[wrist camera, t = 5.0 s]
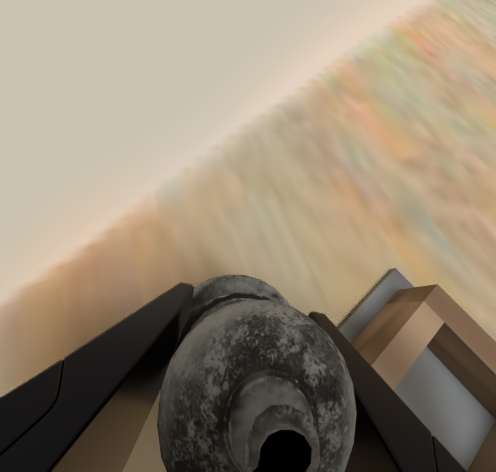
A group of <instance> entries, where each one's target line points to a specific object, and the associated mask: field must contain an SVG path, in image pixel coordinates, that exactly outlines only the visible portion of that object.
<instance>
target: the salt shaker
mask: <svg viewBox="0 0 496 472" xmlns="http://www.w3.org/2000/svg"><path fill="white" fill-rule="evenodd" d="M356 414H357V412H356V404H355V395H354V387H353V383H352V380H351V377H350V374H349V371H348V368H347V365H346V362H345V360H344V358H343V356H342V354H341V353H340V351H339V350H338V348H337V346H336V345H335V343H334V342H333V340H332V338H331V337H330V336H329V335H328V334H327V333H326V332H325V331H324V330H323V329H322V328H321V327H320V326H319V325H318V324H317V323H316V322H315V321H314V320H312V319H311V318H310V317H308V316H307V315H305V314H303V313H302V312H300V311H298V310H296V309H295V308H293V307H291V306H290V305H289V303H288V302H287V300H286V299H285V298H284V297H283V296H282V295H281V294H280V293H279V292H278V291H277V290H276V289H275V288H273V287H271V286H270V285H268V284H266V283H265V282H263V281H261V280H259V279H256V278H252V277H249V276H245V275H224V276H220V277H216V278H212V279H209V280H207V281H206V282H204V283H202V284H200V285H198V286H196V287H194V291H193V298H192V304H191V309H190V313H189V316H188V319H187V322H186V325H185V326H184V328H183V329H182V331H181V332H180V334H179V336H178V339H177V342H176V345H175V348H174V350H173V353H172V358H171V361H170V363H169V366H168V369H167V372H166V375H165V378H164V380H163V383H162V386H161V394H160V403H159V412H158V423H157V427H158V435H159V443H160V451H161V458H162V461H163V463H164V466H165V468H166V471H167V472H345V469H346V465H347V462H348V459H349V456H350V453H351V450H352V447H353V444H354V436H355V425H356Z"/></svg>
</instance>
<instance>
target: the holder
mask: <svg viewBox="0 0 496 472" xmlns="http://www.w3.org/2000/svg"><path fill="white" fill-rule="evenodd" d="M337 329H338V330H339V331H340V332H341V333H342V334H343V335H344V336H345V337H346V338H347V340H348V341H349V342H350V343H351V344H352V345H353V346H354V347H355V348H356V350H357V351H358V352H359V353H360V354H361V355H362V356H363V357H364V358H365V359H366V361H367V362H368V363H369V364H370V365H371V366H372V367H373V368H374V369H375V371H376V372H377V373H378V374H379V375H380V376H381V377H382V378H383V379H384V380H385V382H386V383H387V384H388V385H389V386H390V387H391V388H392V389H393V390H394V392H395V393H396V394H397V395H398V396H399V397H400V398H401V399H402V400H403V402H404V403H405V404H406V405H407V406H408V407H409V408H410V409H411V410H412V411H413V413H414V414H415V415H416V416H417V417H418V418H419V419H420V420H421V421H422V423H423V424H424V425H425V426H426V427H427V428H428V429H429V430H430V431H431V433H432V436H435V437H436V438H437V439H438V440H439V441H440V442H441V443H442V444H443V446H444V447H445V448H446V449H447V450H448V451H449V452H450V453H451V454H452V456H453V457H454V458H455V459H456V460H457V461H458V462H459V463H460V464H461V465H462V466H463V467H464V469H465V470H466V471H467V472H496V342H495V341H494V340H493V339H492V338H491V337H490V336H489V335H488V334H487V333H486V332H485V331H484V330H483V329H482V328H481V327H480V326H479V325H478V324H477V323H476V322H475V321H474V320H473V319H472V318H471V317H470V316H469V315H468V314H467V313H466V312H465V311H464V310H463V309H462V308H461V307H460V306H459V305H458V304H457V303H456V302H455V301H454V300H453V299H452V298H451V297H450V296H449V295H448V294H447V293H446V292H445V291H444V290H443V289H442V288H441V287H440V286H439V285H438V284H436V285H429V286H422V287H414V286H413V285H412V284H411V283H410V282H409V281H408V280H407V279H406V278H405V277H404V276H403V275H402V274H401V273H400V272H399V271H398V270H397V269H396V268H394V269H391V270H390V271H389V272H388V273H387V274H386V275H385V277H384V278H383V279H382V280H381V281H380V282H379V283H378V284H377V285H376V286H375V287H374V288H373V289H372V291H371V292H370V293H369V294H368V295H367V296H366V297H365V298H364V299H363V300H362V301H361V302H360V304H359V305H358V306H357V307H356V308H355V309H354V310H353V311H352V312H351V313H350V314H349V315H348V316H347V318H346V319H345V320H344V321H343V322H342V323H341V324H340V325H339V326H338V327H337Z"/></svg>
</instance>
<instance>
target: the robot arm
mask: <svg viewBox="0 0 496 472" xmlns="http://www.w3.org/2000/svg"><path fill="white" fill-rule="evenodd" d="M193 291H194V286H193V285H191V284H187V283H179V284H177V285H176V286H174V287H173V288H171V289H170V290H168V291H166V292H165V293H163V294H162V295H160V296H159V297H157V298H156V299H154V300H153V301H151V302H149V303H148V304H146V305H145V306H143V307H142V308H140V309H139V310H137V311H135V312H134V313H132V314H131V315H129V316H128V317H126V318H125V319H123V320H122V321H120V322H118V323H117V324H115V325H114V326H112V327H111V328H109V329H108V330H106V331H105V332H103V333H101V334H100V335H98V336H97V337H95V338H94V339H92V340H91V341H89V342H87V343H86V344H84V345H83V346H81V347H80V348H78V349H77V350H75V351H74V352H72V353H70V354H69V355H67V356H66V357H65V358H64V360H59V361H58V362H56V363H55V364H53V365H52V366H50V367H48V368H47V369H45V370H44V371H42V372H41V373H39V374H38V375H36V376H34V377H33V378H31V379H29V380H28V381H26V382H25V383H23V384H21V385H20V386H18V387H17V388H15V389H13V390H12V391H10V392H9V393H7V394H5V395H4V396H2V397H0V472H122V471H123V468H124V466H125V464H126V462H127V460H128V458H129V455H130V453H131V451H132V449H133V447H134V445H135V443H136V440H137V438H138V436H139V434H140V432H141V430H142V428H143V425H144V423H145V421H146V419H147V417H148V415H149V412H150V410H151V408H152V406H153V404H154V402H155V400H156V397H157V395H158V393H159V391H160V389H161V386H162V383H163V380H164V378H165V375H166V372H167V369H168V366H169V363H170V361H171V358H172V353H173V350H174V348H175V345H176V342H177V339H178V336H179V334H180V332H181V331H182V329H183V328H184V326H185V325H186V322H187V319H188V316H189V313H190V309H191V304H192V298H193ZM308 317H310V318H311V319H312V320H314V321H315V322H316V323H317V324H318V325H319V326H320V327H321V328H322V329H323V330H324V331H325V332H326V333H327V334H328V335H329V336H330V337H331V338H332V340H333V342H334V343H335V345H336V346H337V348H338V350H339V351H340V353H341V354H342V356H343V358H344V360H345V362H346V365H347V368H348V371H349V374H350V377H351V380H352V383H353V387H354V395H355V404H356V412H357V414H356V425H355V436H354V444H353V447H352V450H351V453H350V456H349V459H348V462H347V465H346V469H345V472H467V471H466V470H465V469H464V467H463V466H462V465H461V464H460V463H459V462H458V461H457V460H456V459H455V458H454V457H453V456H452V454H451V453H450V452H449V451H448V450H447V449H446V448H445V447H444V446H443V444H442V443H441V442H440V441H439V440H438V439H437V438H436V437H435V436H432V433H431V431H430V430H429V429H428V428H427V427H426V426H425V425H424V424H423V423H422V421H421V420H420V419H419V418H418V417H417V416H416V415H415V414H414V413H413V411H412V410H411V409H410V408H409V407H408V406H407V405H406V404H405V403H404V402H403V400H402V399H401V398H400V397H399V396H398V395H397V394H396V393H395V392H394V390H393V389H392V388H391V387H390V386H389V385H388V384H387V383H386V382H385V380H384V379H383V378H382V377H381V376H380V375H379V374H378V373H377V372H376V371H375V369H374V368H373V367H372V366H371V365H370V364H369V363H368V362H367V361H366V359H365V358H364V357H363V356H362V355H361V354H360V353H359V352H358V351H357V350H356V348H355V347H354V346H353V345H352V344H351V343H350V342H349V341H348V340H347V338H346V337H345V336H344V335H343V334H342V333H341V332H340V331H339V330H338V329H337V327H336V326H335V325H334V324H333V323H332V322H331V321H330V320H329V319H328V317H327V316H326V315H325V314H322V313H318V312H313V311H312V312H310V313H309V315H308Z"/></svg>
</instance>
